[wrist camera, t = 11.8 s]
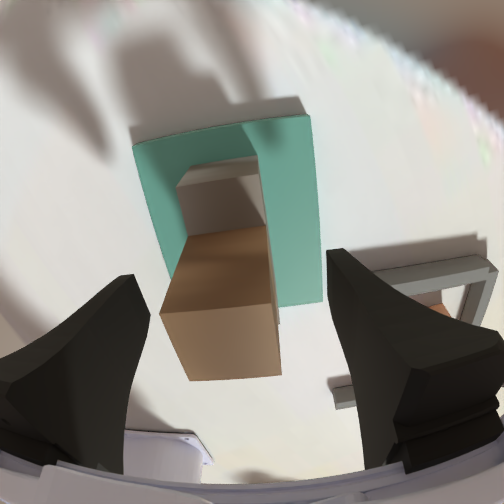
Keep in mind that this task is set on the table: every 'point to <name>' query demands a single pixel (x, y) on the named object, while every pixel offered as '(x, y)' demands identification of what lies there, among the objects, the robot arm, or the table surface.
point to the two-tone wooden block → (224, 276)
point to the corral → (436, 279)
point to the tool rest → (274, 189)
